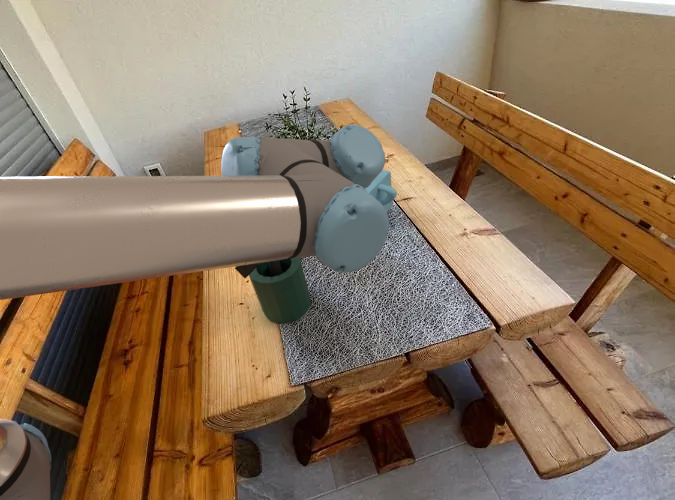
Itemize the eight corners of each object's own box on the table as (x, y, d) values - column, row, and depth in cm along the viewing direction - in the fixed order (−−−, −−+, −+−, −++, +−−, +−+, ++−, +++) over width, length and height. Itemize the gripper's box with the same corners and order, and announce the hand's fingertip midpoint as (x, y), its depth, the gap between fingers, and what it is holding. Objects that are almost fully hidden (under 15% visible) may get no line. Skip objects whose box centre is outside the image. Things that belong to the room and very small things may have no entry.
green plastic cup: (276, 331, 80) (261, 291, 72) (255, 303, 87) (240, 263, 80) (319, 306, 84) (309, 265, 76) (296, 280, 91) (284, 240, 83)
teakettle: (403, 228, 101) (401, 178, 92) (333, 245, 99) (324, 196, 90) (381, 193, 115) (378, 147, 106) (320, 207, 114) (311, 162, 105)
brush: (287, 310, 83) (268, 253, 73) (275, 304, 85) (256, 248, 75) (297, 299, 85) (280, 243, 75) (285, 294, 87) (267, 238, 77)
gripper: (276, 270, 53) (233, 307, 70) (367, 182, 67) (313, 230, 84) (237, 229, 52) (204, 277, 69) (338, 149, 67) (290, 205, 84)
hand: (264, 251), depth 77 cm, fingers open, 12 cm apart
